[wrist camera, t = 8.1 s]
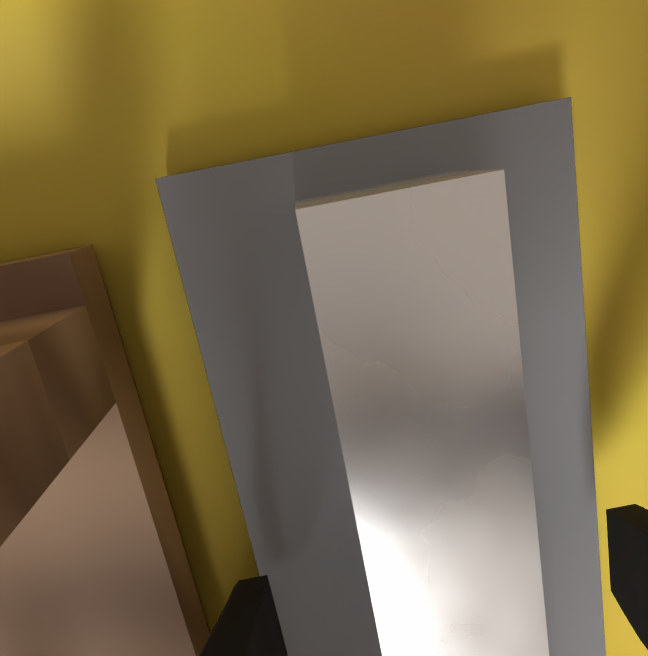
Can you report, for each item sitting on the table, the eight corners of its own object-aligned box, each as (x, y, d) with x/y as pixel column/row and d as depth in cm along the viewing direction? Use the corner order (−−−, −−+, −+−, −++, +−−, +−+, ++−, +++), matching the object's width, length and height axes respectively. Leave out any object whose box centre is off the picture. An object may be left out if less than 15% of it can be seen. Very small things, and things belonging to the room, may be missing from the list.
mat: (604, 768, 16) (614, 786, 15) (328, 820, 16) (329, 841, 15) (558, 100, 11) (570, 96, 10) (161, 178, 11) (155, 178, 10)
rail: (520, 775, 15) (573, 918, 12) (411, 795, 15) (438, 943, 12) (447, 171, 11) (504, 169, 8) (295, 200, 11) (294, 209, 8)
